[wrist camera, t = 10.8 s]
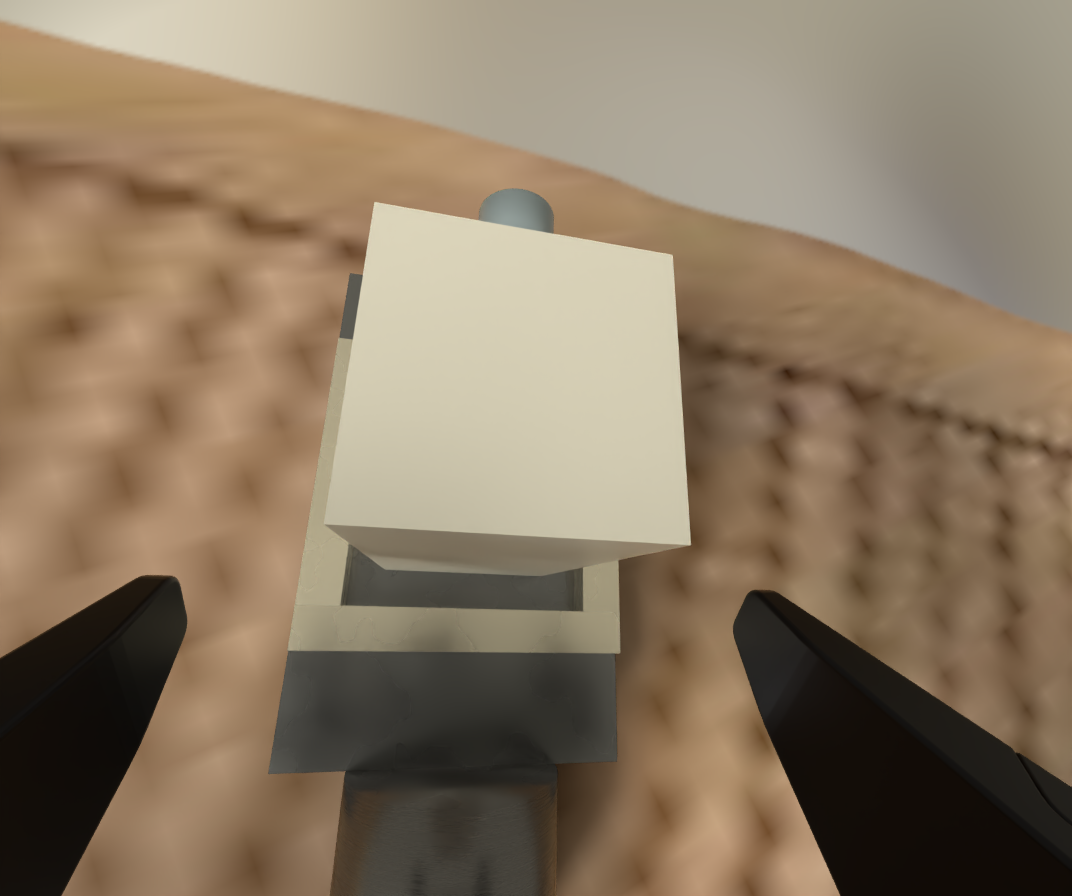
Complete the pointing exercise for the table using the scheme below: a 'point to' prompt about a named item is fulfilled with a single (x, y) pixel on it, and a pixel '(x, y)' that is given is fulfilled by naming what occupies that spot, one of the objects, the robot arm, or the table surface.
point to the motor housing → (442, 703)
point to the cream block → (509, 397)
